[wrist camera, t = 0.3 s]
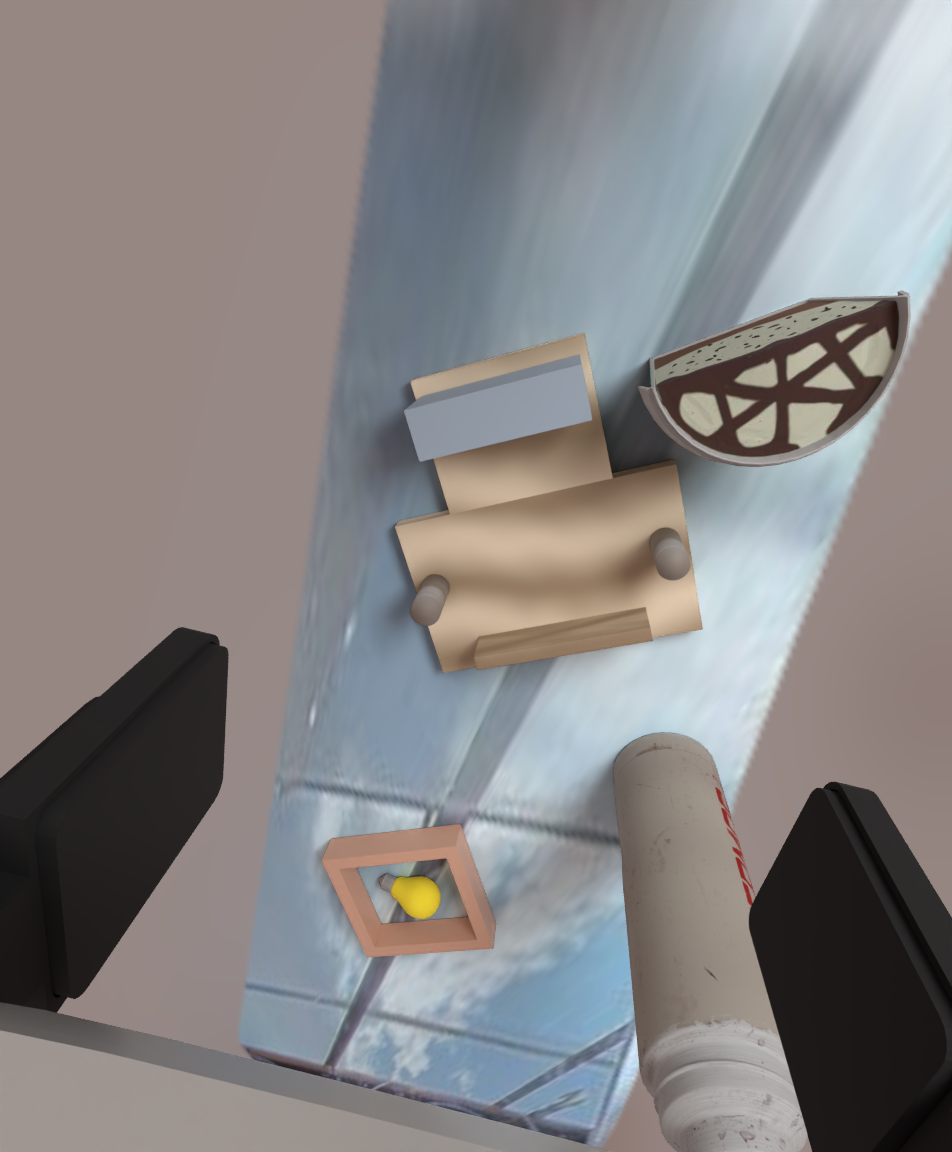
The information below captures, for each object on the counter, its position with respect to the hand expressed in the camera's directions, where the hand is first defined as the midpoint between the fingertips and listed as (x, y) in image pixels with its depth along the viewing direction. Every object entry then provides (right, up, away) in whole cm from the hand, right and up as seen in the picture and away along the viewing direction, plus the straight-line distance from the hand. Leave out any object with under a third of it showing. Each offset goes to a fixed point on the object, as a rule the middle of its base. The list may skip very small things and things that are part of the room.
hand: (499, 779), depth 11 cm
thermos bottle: (+15, -12, +43) cm, 47 cm away
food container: (+16, +15, +30) cm, 37 cm away
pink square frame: (-6, -25, +51) cm, 57 cm away
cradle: (+4, +8, +35) cm, 36 cm away
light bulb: (-6, -25, +51) cm, 57 cm away
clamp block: (+1, +14, +31) cm, 34 cm away
